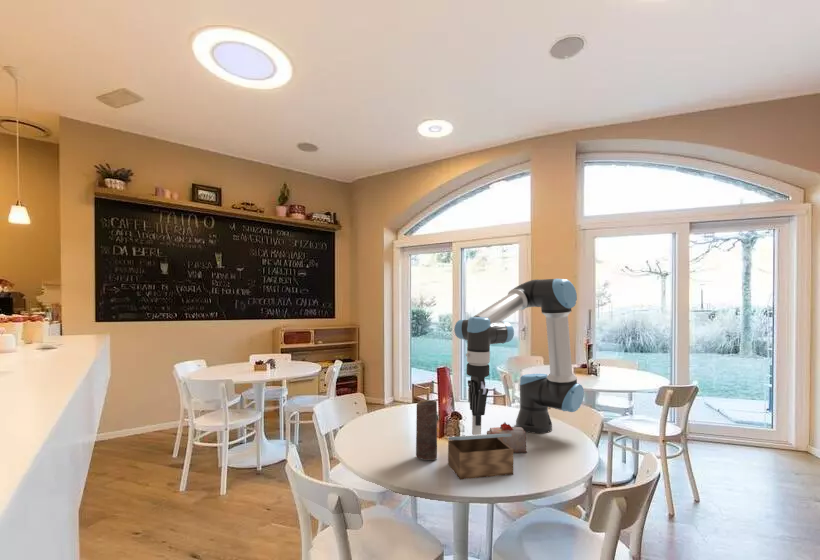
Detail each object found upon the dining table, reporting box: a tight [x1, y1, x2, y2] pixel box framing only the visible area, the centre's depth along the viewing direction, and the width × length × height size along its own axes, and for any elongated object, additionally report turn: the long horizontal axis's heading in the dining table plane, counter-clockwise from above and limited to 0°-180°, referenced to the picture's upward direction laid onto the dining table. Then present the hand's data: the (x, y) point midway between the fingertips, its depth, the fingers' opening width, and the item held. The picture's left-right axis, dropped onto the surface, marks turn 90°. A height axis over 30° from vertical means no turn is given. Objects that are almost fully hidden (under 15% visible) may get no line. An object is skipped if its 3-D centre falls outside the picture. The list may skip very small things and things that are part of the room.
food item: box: [486, 421, 528, 454], centre depth 153 cm, size 14×8×10 cm, turn 92°
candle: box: [415, 399, 438, 461], centre depth 144 cm, size 8×7×20 cm
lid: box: [448, 433, 512, 440], centre depth 136 cm, size 18×12×1 cm
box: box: [447, 437, 514, 481], centre depth 136 cm, size 18×12×8 cm, turn 103°
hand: (476, 434), depth 137 cm, fingers closed
